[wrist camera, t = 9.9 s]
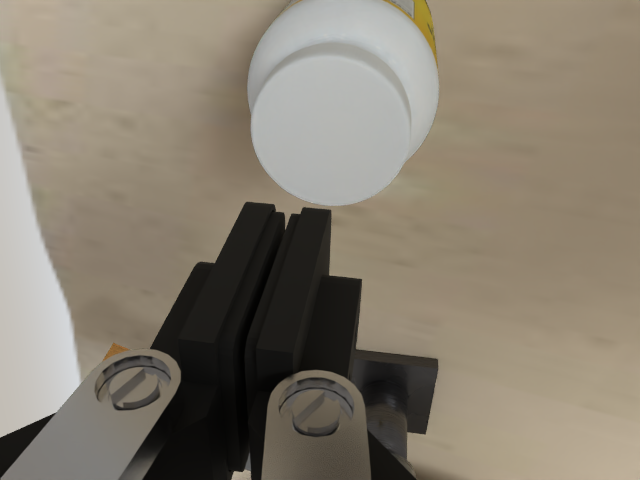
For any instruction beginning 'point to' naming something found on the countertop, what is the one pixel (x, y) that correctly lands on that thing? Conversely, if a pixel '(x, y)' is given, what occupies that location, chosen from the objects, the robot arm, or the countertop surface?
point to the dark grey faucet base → (395, 395)
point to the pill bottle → (342, 95)
